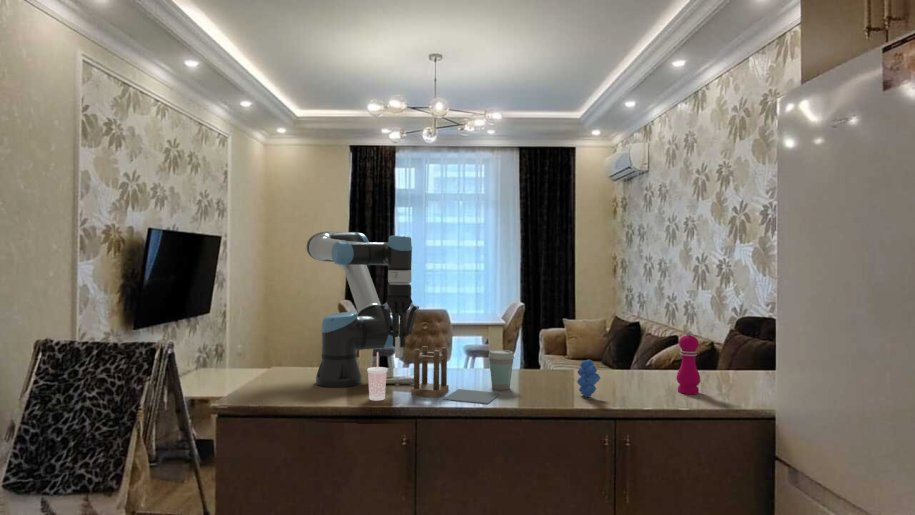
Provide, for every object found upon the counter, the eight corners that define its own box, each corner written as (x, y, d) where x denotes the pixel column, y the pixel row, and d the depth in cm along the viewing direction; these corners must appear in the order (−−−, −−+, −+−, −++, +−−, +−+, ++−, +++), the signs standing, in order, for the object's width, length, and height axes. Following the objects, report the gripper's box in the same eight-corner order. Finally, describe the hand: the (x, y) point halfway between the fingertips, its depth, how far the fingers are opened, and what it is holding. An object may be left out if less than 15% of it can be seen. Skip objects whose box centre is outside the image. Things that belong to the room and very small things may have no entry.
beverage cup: (389, 396, 180) (390, 350, 180) (383, 401, 174) (384, 354, 174) (370, 395, 181) (371, 350, 181) (364, 400, 175) (364, 353, 175)
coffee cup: (512, 391, 189) (512, 354, 189) (486, 390, 190) (486, 353, 190) (515, 386, 197) (515, 350, 197) (489, 384, 199) (490, 349, 199)
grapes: (608, 401, 177) (608, 361, 177) (586, 402, 176) (587, 362, 176) (592, 392, 189) (593, 355, 188) (572, 393, 187) (573, 355, 187)
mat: (443, 399, 177) (443, 398, 177) (458, 390, 190) (458, 389, 190) (488, 404, 172) (488, 403, 172) (500, 393, 185) (500, 392, 185)
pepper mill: (699, 390, 193) (700, 329, 193) (700, 395, 186) (701, 332, 186) (675, 389, 195) (676, 328, 195) (676, 393, 188) (677, 331, 188)
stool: (411, 394, 183) (411, 349, 183) (422, 388, 191) (423, 345, 191) (438, 397, 180) (438, 351, 180) (448, 391, 189) (449, 347, 188)
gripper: (376, 283, 188) (375, 357, 188) (413, 284, 184) (412, 360, 183) (386, 282, 195) (386, 354, 195) (423, 283, 191) (422, 356, 190)
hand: (399, 357), depth 189 cm, fingers closed
